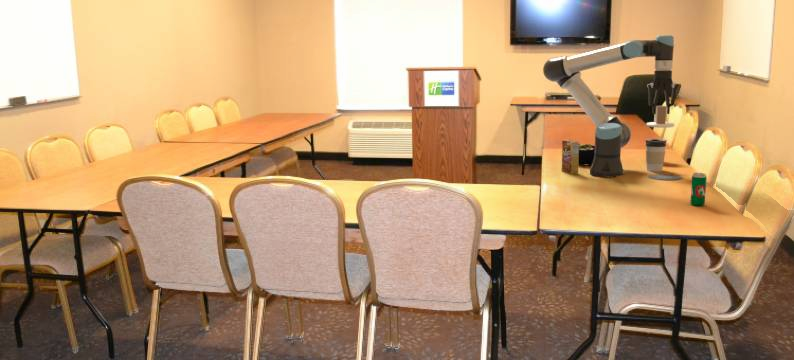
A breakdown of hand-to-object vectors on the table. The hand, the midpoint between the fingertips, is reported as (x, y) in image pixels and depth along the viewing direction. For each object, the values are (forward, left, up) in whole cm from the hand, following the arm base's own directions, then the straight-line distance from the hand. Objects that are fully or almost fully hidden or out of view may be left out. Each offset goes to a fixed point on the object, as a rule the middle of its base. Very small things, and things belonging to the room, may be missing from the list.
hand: (660, 121), depth 313 cm
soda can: (-35, -53, -25) cm, 68 cm away
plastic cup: (+22, +23, -25) cm, 41 cm away
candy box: (-33, +23, -25) cm, 47 cm away
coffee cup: (+2, +4, -25) cm, 25 cm away
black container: (-11, +38, -25) cm, 47 cm away
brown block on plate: (0, 0, -2) cm, 2 cm away
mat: (-7, -11, -25) cm, 28 cm away
